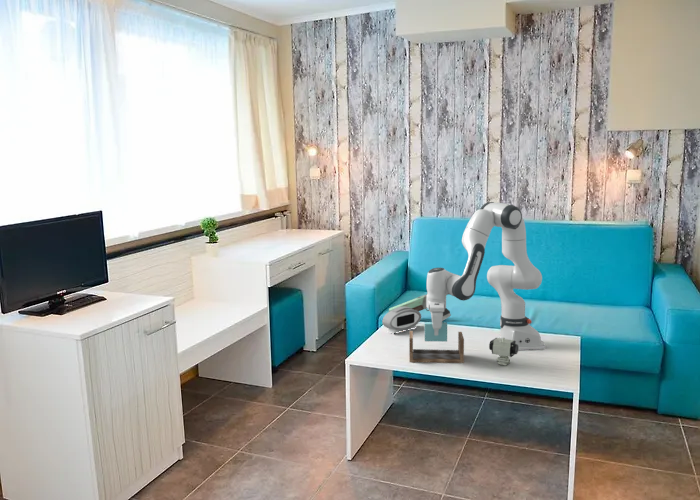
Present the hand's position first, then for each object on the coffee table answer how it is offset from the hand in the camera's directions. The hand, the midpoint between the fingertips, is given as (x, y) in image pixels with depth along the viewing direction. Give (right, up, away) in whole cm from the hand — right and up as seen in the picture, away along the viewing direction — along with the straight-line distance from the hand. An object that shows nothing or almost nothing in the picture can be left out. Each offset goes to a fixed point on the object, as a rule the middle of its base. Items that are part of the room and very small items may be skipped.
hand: (436, 333), depth 270 cm
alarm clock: (-11, -6, +49) cm, 50 cm away
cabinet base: (0, -12, +2) cm, 12 cm away
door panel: (0, -3, 0) cm, 3 cm away
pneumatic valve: (+28, -13, -8) cm, 32 cm away
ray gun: (+1, -3, +69) cm, 70 cm away
